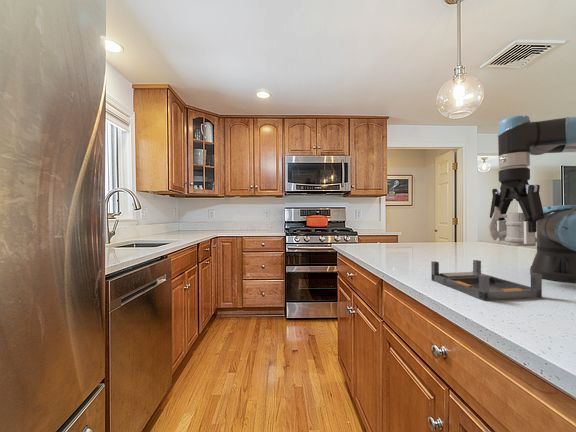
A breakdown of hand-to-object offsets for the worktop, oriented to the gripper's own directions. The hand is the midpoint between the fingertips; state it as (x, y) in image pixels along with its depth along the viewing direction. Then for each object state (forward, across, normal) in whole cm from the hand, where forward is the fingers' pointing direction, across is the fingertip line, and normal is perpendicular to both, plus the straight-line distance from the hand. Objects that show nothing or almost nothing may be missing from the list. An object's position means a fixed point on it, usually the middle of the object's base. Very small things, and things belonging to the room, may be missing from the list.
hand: (514, 241), depth 86 cm
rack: (+12, +4, -15) cm, 20 cm away
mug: (+1, -1, 0) cm, 1 cm away
